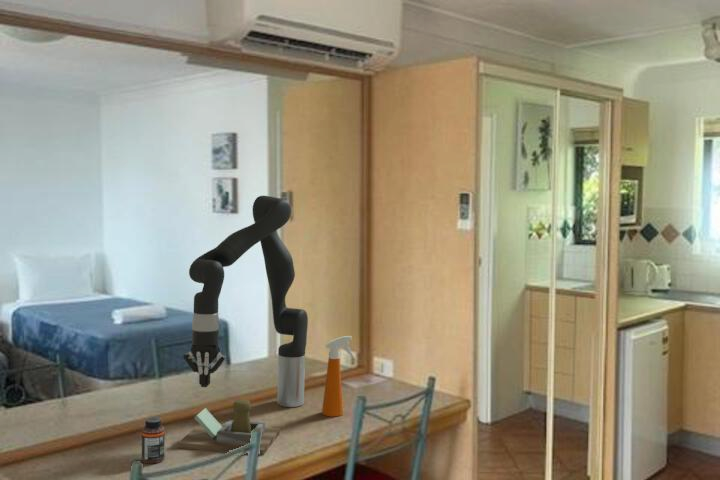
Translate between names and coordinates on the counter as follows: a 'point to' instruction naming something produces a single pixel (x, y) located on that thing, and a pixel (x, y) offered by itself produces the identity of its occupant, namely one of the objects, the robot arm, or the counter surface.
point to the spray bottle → (334, 378)
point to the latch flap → (208, 423)
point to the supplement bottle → (153, 441)
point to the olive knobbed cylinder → (241, 416)
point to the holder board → (228, 438)
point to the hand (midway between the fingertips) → (204, 386)
